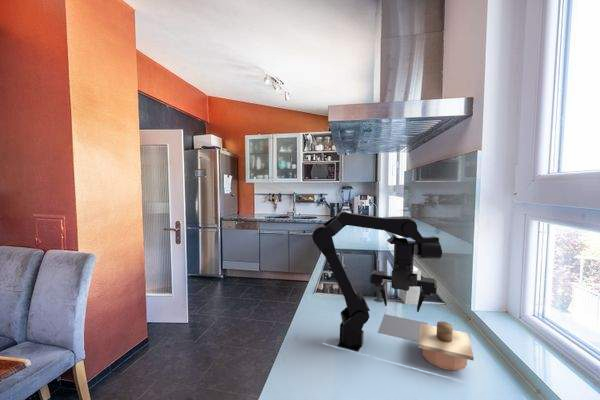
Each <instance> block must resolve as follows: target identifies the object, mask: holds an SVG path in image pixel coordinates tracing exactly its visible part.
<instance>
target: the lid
mask: <svg viewBox="0 0 600 400" xmlns="http://www.w3.org/2000/svg"><path fill="white" fill-rule="evenodd" d="M418 348H419V349H422V350H423V349H427V350H431V351H435V352H439V353H443V354H448V355H452V356H456V357H460V358H464V359H467V361H474V357H475V356H474V352H473V349H472V344H471V339H470V337H469V333H468V332H464V331H461V330H454V326H453V324H451V323H449V322H447V321H437V323H436V325H435V326H434V325H430V324H428V325H426V324H420V335H419V342H418Z"/></svg>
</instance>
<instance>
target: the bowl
mask: <svg viewBox="0 0 600 400" xmlns="http://www.w3.org/2000/svg"><path fill="white" fill-rule="evenodd" d="M422 356H423V358H424V359H426V361H427V362H429V363H430V364H432V365H434V366H436V367H438V368H441V369H444V370H448V371H461V370H463V369H464V368H465V367H466V366H468V359H464V358H460V357H456V356H452V355H448V354H443V353H439V352H435V351H431V350H427V349H423V348H422Z"/></svg>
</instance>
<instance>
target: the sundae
mask: <svg viewBox="0 0 600 400" xmlns="http://www.w3.org/2000/svg"><path fill="white" fill-rule="evenodd" d="M376 270H377V271H380V269H379V268H377V269H376ZM373 290H374V292H375V293H376V294H377V295H376V298H374V299H373V301H374V302H376V303H384V301H383V298H381V292H380V290H379V288H378V287H376V286H374V284H373Z"/></svg>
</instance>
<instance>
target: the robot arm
mask: <svg viewBox="0 0 600 400" xmlns="http://www.w3.org/2000/svg"><path fill="white" fill-rule="evenodd" d="M346 226H350V227H351V226H352V227H356V228H358V227H359V228H365V229H371V230H379V231H385V232H388V233H390V234H392V236H391V237H389V238H388V239H387V240H386V241H387V243H389V244H390V245H393V264H392V270H391V275H389V274H386V273H387V272H386V271H383V270H379V271H377V270H378V269H375V270H373V271H372V273H370V277H369V283H370V284H374V285H373V287H374V286H376V287H378V288H379V290H380V292H381V293H380V295H381V297H382V300H383V303H384V306H385V307H387V306H388V288H387V287H388V286H387V282H388V283H390V284H391V285H390V286H391V288H392V289H393V290H399V291H400V290H404V291H408V290H409V287H413V286H414V287H417V286H418V287H420V294H419V299H418V305H416V312H417V313H419V311H421V307H422V305H423V302H424V300H425V299H426V298H427V296H432V294H434V295H435V294H437V289H438V288H437V286H438V285H437V284H438V283H437V280H436V279H435V278H431V277H427V276H426V277H425V276H421V280H417V274H414V273H413V266H414V261H415V260H414V258H415V257H414V255H415V256H416V257H417V258H418V259H419V260H440V259H441V258H442V255H443V249H442V245H441V243H440V238H439V237H438V236H422V234H421V233H420V231H419V230H418V225H417V222H416V221H415V220H414V219H413V218H409V217H406V216H402V215H401V216H387V217H386V216H385V217H381V216H373V215H367V214H360V213H352V212H347V211H344V210H341V211H340V212H338V213H337V214H336V215H335V216H333V217H331V218H330V219H328V220H326V221H325V222H324V223H323V224H320V223H319V224H317V225H315V226H314V227H313V229H312V233H311V235H312V236H311V238H312V241H313V243H314V244H315V246H316V247H317V249H318V250H319V251H320V252H321V254H322V255H323V256H324V258H325V260H326V261H327V264H328V265H329V267H330V270H331V272H332V274H333V276H334V278H335V281H336V283H337V284H338V287H339V288H340V291H341V294H342V295H343V297H344V301H345V305H346V307H345V308H343V309H342V310H341V311H340V318H341V322H340V324H339V341H338V343H337V347H340V348H344V349H348V350H351V351H355V352H359V351H360V349H361V348H362V347H363V345H364V335H365V334H364V333H365V331H364V329H363V327H364V325H365V324H366V323H368V321H369V319H370V313H369V312H371V310H370V308H369V305H368V303H367V301H366V300H365V297H364V294H363V293H362V291H359V292H357V291H356V290H355V289H354V287H353V285H352V283H351V281H350V278H349V276H348V274H347V272H346V270H345V267H344V266H343V264H342V261H341V259H340V257H339V255H338V253H337V251H336V246H335V243H334V239H333V238H334V237H335V236H336V235H337V234H338V233H339V232H340V231H341V230H342V229H343V228H345V227H346ZM397 236H398V237H397ZM408 239H411V240H408Z"/></svg>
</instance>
